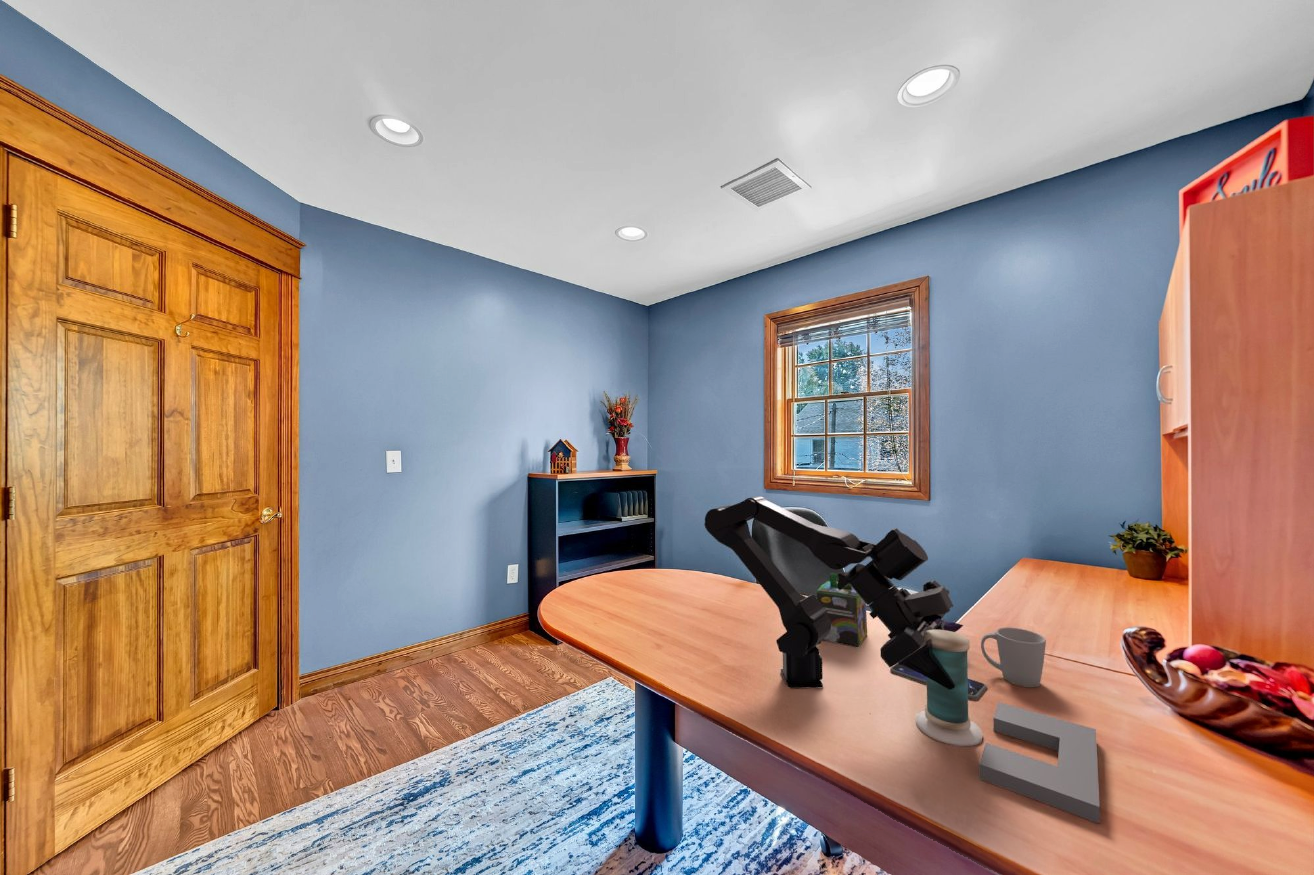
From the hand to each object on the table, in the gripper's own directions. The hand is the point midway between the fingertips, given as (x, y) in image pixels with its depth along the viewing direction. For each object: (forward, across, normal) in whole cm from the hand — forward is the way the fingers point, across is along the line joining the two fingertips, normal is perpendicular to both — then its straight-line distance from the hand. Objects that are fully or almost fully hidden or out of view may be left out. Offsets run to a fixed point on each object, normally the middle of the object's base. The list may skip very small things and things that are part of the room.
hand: (956, 680), depth 76 cm
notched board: (+13, 0, -2) cm, 13 cm away
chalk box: (-13, +25, +25) cm, 38 cm away
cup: (+9, +26, +2) cm, 27 cm away
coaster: (+5, 0, +6) cm, 8 cm away
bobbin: (+4, 0, +6) cm, 7 cm away
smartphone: (+2, +16, +10) cm, 19 cm away
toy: (-1, +32, +13) cm, 35 cm away
